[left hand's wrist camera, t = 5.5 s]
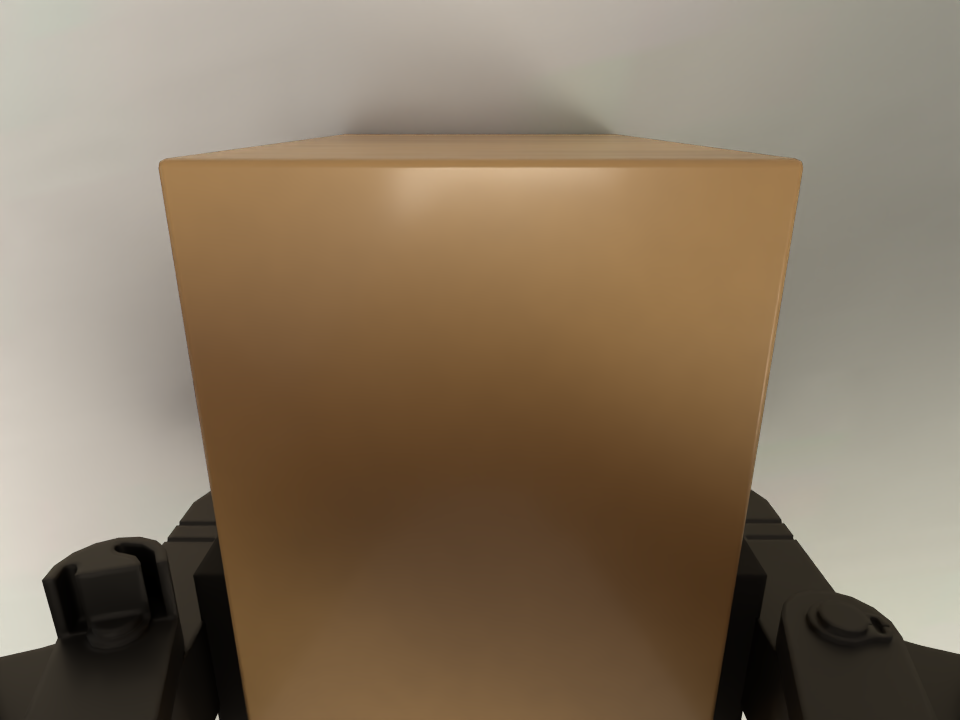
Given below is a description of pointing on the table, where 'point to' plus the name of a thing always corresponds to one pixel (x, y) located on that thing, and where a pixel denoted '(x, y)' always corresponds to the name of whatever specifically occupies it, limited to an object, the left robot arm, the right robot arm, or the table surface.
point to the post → (480, 414)
